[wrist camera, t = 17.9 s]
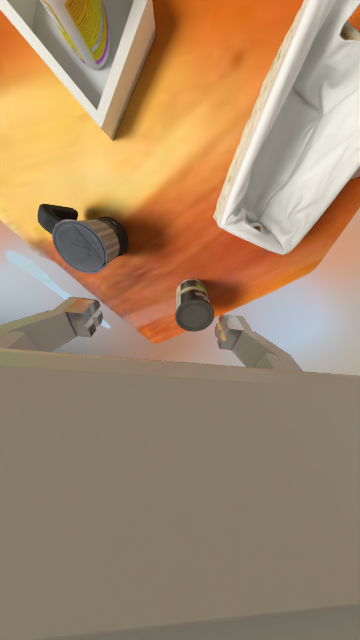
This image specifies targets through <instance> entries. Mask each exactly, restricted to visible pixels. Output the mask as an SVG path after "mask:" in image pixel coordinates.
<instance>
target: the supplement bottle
mask: <svg viewBox="0 0 360 640" xmlns="http://www.w3.org/2000/svg"><path fill="white" fill-rule="evenodd" d="M40 1H41V3H42V4H43V6H44V7H45V9H46V10H47V12H48V14H49V15H50V17H51V18H52V20H53V21H54V23H55V24H56V26H57V27H58V29H59V30H60V32H61V33H62V35H63V37H64V38H65V40H66V41H67V43H68V44H69V46H70V47H71V49H72V50H73V52H74V53H75V55H76V56H77V57H78V58H79V60H80V61H81V62H82V63H83V64H84V65H86V66H87V67H89V68H91V69H98V68H101V67H102V66H103V65H104V64H105V62H106V60H107V58H108V54H109V49H110V30H109V22H108V17H107V13H106V9H105V6H104V3H103V0H40Z"/></svg>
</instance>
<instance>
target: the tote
mask: <svg viewBox="0 0 360 640" xmlns="http://www.w3.org/2000/svg"><path fill="white" fill-rule="evenodd" d="M103 3H104V6H105V9H106V13H107V17H108V22H109V30H110V49H109V54H108V58H107V60H106V62H105V64H104V65H103V66H102V67H101V68H98V69H91V68H89V67H87V66H86V65H84V64H83V63H82V62H81V61H80V60H79V58H78V57H77V56H76V55H75V53H74V52H73V50H72V49H71V47H70V46H69V44H68V43H67V41H66V40H65V38H64V37H63V35H62V33H61V32H60V30H59V29H58V27H57V26H56V24H55V23H54V21H53V20H52V18H51V17H50V15H49V14H48V12H47V10H46V9H45V7H44V6H43V4H42V3H41V1H40V0H0V10H1V11H2V12H3V13H4V14H5V16H6V17H7V18H8V19H9V20H10V21H11V23H12V24H13V25H14V26H15V27H16V29H17V30H18V31H19V32H20V33H21V34H22V36H23V37H24V38H25V39H26V40H27V41H28V43H29V44H30V45H31V46H32V47H33V49H34V50H35V51H36V52H37V53H38V54H39V56H40V57H41V58H42V59H43V60H44V62H45V63H46V64H47V65H48V66H49V67H50V69H51V70H52V71H53V72H54V73H55V74H56V76H57V77H58V78H59V79H60V80H61V82H62V83H63V84H64V85H65V86H66V87H67V89H68V90H69V91H70V92H71V93H72V95H73V96H74V97H75V98H76V99H77V100H78V102H79V103H80V104H81V105H82V106H83V107H84V109H85V110H86V111H87V112H88V113H89V115H90V116H91V117H92V118H93V119H94V120H95V122H96V123H97V124H98V125H99V126H100V128H101V129H102V130H103V131H104V132H105V133H106V134H107V135H108V136H109V138H110V139H111V140H112V141H113V139H114V136H115V134H116V132H117V129H118V127H119V124H120V122H121V119H122V117H123V114H124V112H125V109H126V107H127V105H128V102H129V100H130V97H131V95H132V92H133V90H134V87H135V85H136V82H137V80H138V78H139V75H140V73H141V70H142V68H143V65H144V63H145V60H146V58H147V55H148V53H149V51H150V48H151V46H152V43H153V41H154V38H155V36H156V28H155V20H154V12H153V4H152V0H103Z"/></svg>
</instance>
